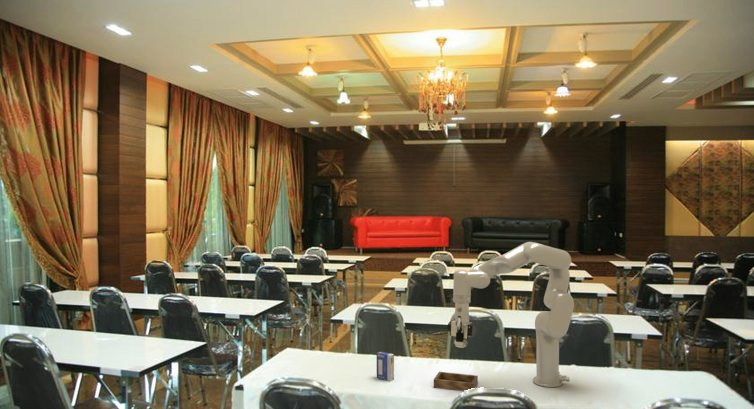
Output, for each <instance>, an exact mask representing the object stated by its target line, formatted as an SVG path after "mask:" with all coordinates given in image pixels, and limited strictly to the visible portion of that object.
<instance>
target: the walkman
mask: <svg viewBox="0 0 754 409" xmlns="http://www.w3.org/2000/svg"><path fill="white" fill-rule="evenodd" d="M376 379H379V380H382V381H388V382H393V381H394V380H395V354H393V353H390V352H389V353H388V352H384V351H378V352H376Z"/></svg>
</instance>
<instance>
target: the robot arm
mask: <svg viewBox="0 0 754 409" xmlns="http://www.w3.org/2000/svg"><path fill="white" fill-rule="evenodd" d="M530 263H535V264H539V265H542V266H544V267H547V269H548V272H549V278H548V282H547V286H546V289H545V293H544V296H543V303H544V305H545V306H546V307H547V308H548V309H549V310H550V311H547V310H544V311H540V312H539V313H538V314H537V315H536V317H535V319H534V329H535V337H536V349H535V350H536V358H535V359H536V368H535V369H536V371H535V372H536V373H535V374H536V376H534V377H532V382H533V383H534V384H535V385H538V386H540V387H545V388H558V387H562V385H563V382H567V383H569V382H570V380H571V378H570V376H567V375H562V374H560V341H559V340H560V339H561V338H563V337H564V336H565V335H566V334H567V332H568V330H569V327H570V324H571V320H572V317H573V314H574V309H575V308H574V307H575V301H574V297H572V295H571V294H570V293H568V288H569V285H570V284H569V283H570V280H571V279H570V277H571V276H570V269H569V267H570V266H571V263H572V257H571V255H570V253H568V252H567V251H566V250H563V249H560V248H556V247H552V246H549V245H545V244H542V243H538V242H533V241H527V242H524V243H522V244H520V245H518V246H517V247H515V248H513V249H511V250H509V251H507V252H506V253H504V254H502V255H499V256H496V257H494V258H491V259H489V260H485V261H484V262H482V263H480V264H479V265H476V266H474V267H472V269H470V270H464V269H459V270H455V271H454V272H453V291H452V295H453V297H452V301H453V303H455V305H454V307H455V308H454V320H455V325H456V326H457V328H456V336H455V339H456V342H463V339H466V338H463V336H464V333H463V325H464V326H466V324H467V323H468V322H470V306H469V305H470V304H471V296H472V294H471V289H472V288H476V289H485V288H487V287H488V286H489V285H490V284H491V278H492V277H495V276H498V275H502V274H503V275H504V274H511V273H513V272H515V271H516V270H519V269H520V268H522V267H524V266H526V265H528V264H530ZM460 324H462V325H460ZM461 327H462V328H461ZM461 329H462V330H461Z"/></svg>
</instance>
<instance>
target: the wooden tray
mask: <svg viewBox="0 0 754 409" xmlns="http://www.w3.org/2000/svg"><path fill="white" fill-rule="evenodd" d="M478 379H479V378H478V375H476V374H465V373H456V372H455V373H454V372H448V371H447V372H446V371H438V373H437V375H435V377H434V378H433V388H435V389H443V390H451V391H452V390H453V391H459V392H460V391H461V392H465V391H464V390H468V389H471V388H475V387H476V388H477V386H478V383H479V380H478ZM476 388H475V389H476Z"/></svg>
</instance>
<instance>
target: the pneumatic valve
mask: <svg viewBox="0 0 754 409" xmlns="http://www.w3.org/2000/svg"><path fill="white" fill-rule="evenodd" d="M460 325H462V324H460ZM446 328H447V329H446V330H447V332H448V333H449V336H451V337H456V328H457V326H456V325H455V319H453V320H450V321H449V322H448V323H447V326H446ZM461 328H462V327H461ZM461 330H462V329H461ZM463 333H464V336H463V338H465V339H463V342H456V338H455V339H454V341H453V342H454V346H455V347H456V348H461V349H463V348H465V347H467V346H468V341H467V339H468V340H469V339H471V338H473V337H475V336H476V333H477V329H476V326H475V325H474V322H470V321H469V322H468V323H467V324H466V326H464V325H463Z"/></svg>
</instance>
